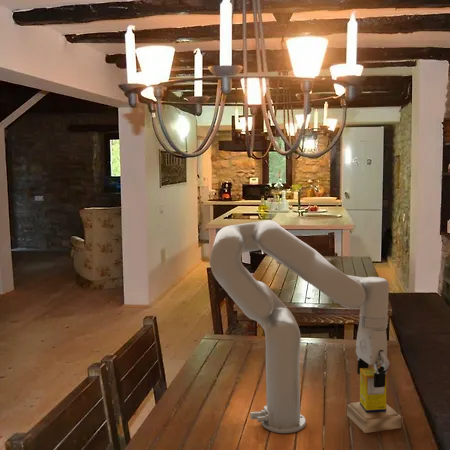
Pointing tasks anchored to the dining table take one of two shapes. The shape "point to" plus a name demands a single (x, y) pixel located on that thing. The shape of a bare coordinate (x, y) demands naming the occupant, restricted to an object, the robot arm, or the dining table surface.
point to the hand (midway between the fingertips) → (370, 380)
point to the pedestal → (373, 418)
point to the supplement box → (371, 392)
